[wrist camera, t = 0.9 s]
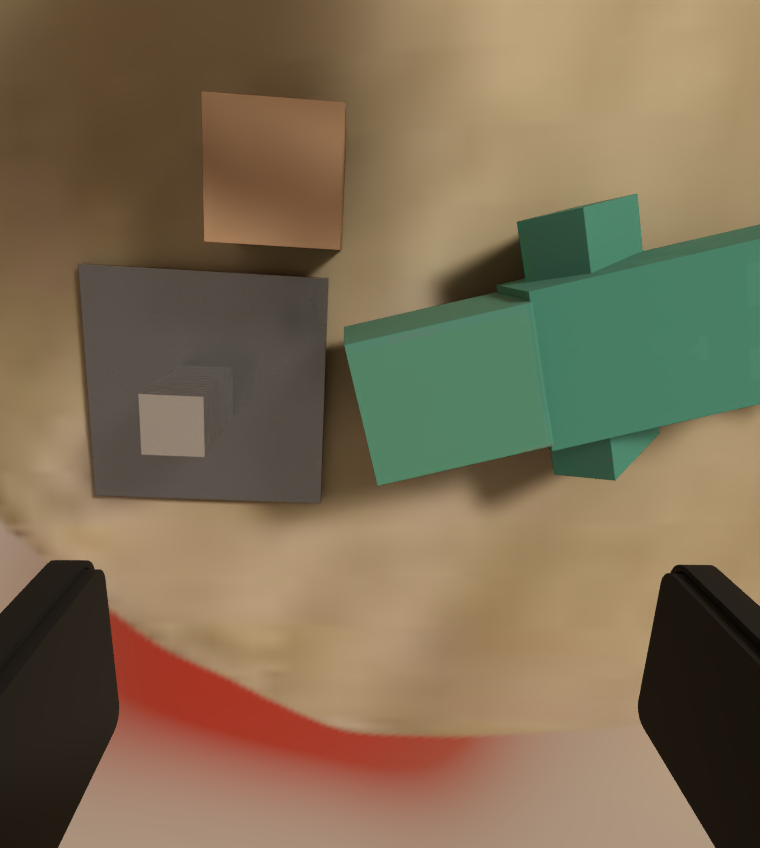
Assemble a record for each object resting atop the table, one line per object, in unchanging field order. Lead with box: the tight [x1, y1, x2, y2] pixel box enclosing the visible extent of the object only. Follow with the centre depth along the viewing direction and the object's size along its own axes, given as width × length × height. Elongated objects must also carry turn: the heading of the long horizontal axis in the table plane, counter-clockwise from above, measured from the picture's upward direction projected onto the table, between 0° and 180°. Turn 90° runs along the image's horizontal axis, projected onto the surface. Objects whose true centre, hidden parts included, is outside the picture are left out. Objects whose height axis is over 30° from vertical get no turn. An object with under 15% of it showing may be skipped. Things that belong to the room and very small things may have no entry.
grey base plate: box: [78, 264, 329, 503], centre depth 28 cm, size 12×12×7 cm
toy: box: [344, 194, 760, 486], centre depth 27 cm, size 12×10×30 cm
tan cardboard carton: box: [201, 91, 346, 250], centre depth 26 cm, size 5×5×7 cm
